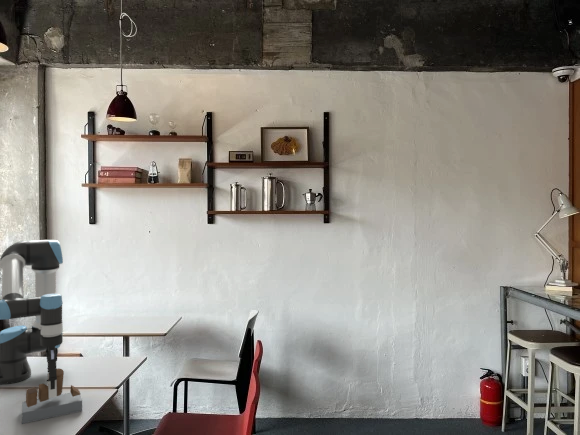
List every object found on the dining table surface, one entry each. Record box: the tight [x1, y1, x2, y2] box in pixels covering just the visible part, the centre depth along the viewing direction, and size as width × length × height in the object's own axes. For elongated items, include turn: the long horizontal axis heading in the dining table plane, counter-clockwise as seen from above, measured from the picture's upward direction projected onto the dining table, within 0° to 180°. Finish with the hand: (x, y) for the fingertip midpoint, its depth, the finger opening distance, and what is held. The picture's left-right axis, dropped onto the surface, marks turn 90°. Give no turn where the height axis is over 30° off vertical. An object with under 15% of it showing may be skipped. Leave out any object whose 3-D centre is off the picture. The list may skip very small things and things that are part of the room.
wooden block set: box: [25, 368, 81, 407], centre depth 167 cm, size 18×9×10 cm, turn 134°
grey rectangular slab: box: [21, 390, 83, 424], centre depth 169 cm, size 11×20×4 cm, turn 121°
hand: (52, 392), depth 169 cm, fingers closed on wooden block set, 8 cm apart
